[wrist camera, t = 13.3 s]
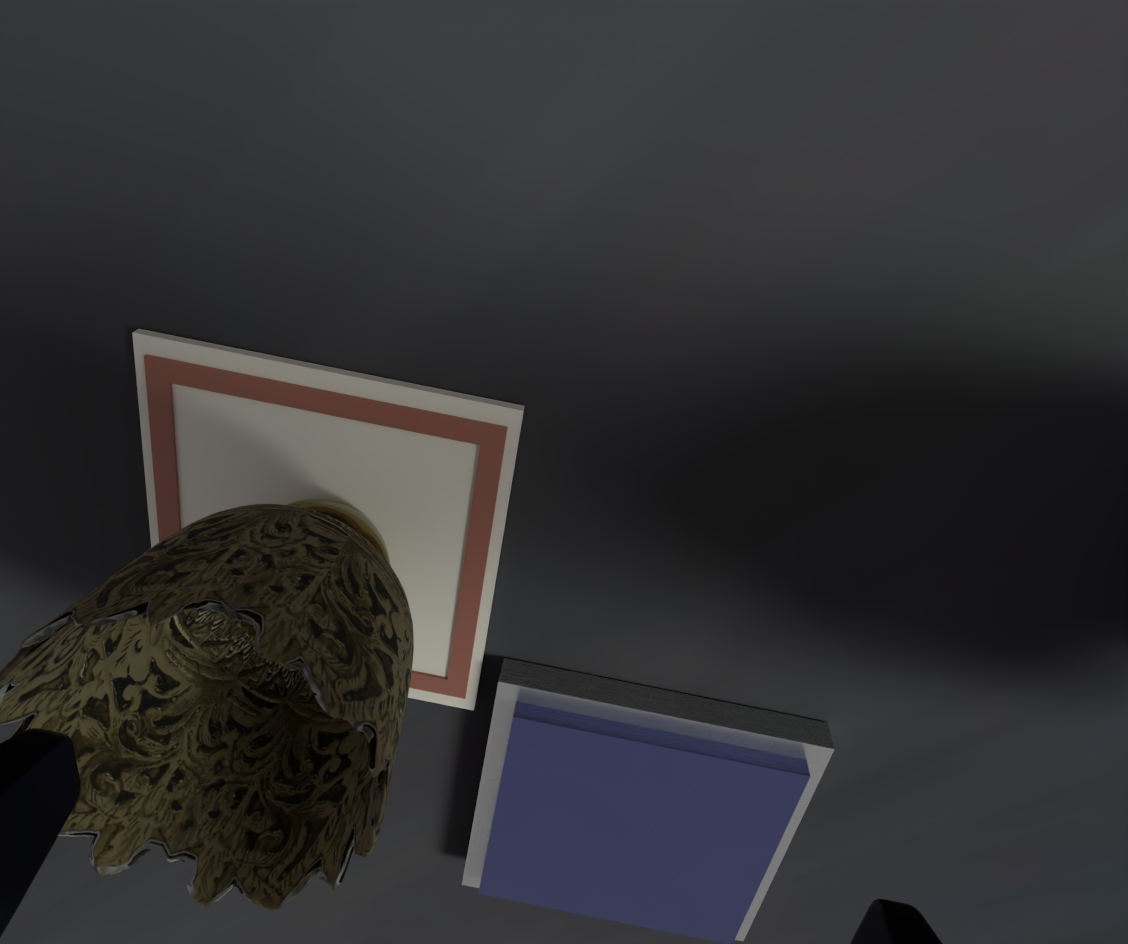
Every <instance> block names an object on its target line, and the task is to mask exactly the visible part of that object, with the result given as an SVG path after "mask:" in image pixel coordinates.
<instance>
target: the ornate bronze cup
mask: <svg viewBox="0 0 1128 944" xmlns="http://www.w3.org/2000/svg"><path fill="white" fill-rule="evenodd" d="M42 629H43V630H42ZM40 630H42V631H41V632H40V633H37V632H39V631H40ZM35 633H37V634H36V635H34V636H33V637H32V638H30V639H28V638H29V637H30V636H32V635H33V634H35ZM27 639H28V640H27ZM20 647H21V648H20V650H19V651H18V653H17V654H16V656H15V657H14V658H13V659H12V660H11V661H10V662H9V663H8V664H7V665H6V666H5V667H4V668H3V669H2V670H1V671H0V686H1V687H0V725H5V724H9V723H13V722H17V721H19V720H21V719H23V718H24V719H23V720H22V722H21V723H20V725H19V727H18V728H17V729H16V731H15V732H14V733H13V734H12V736H11V737H13V736H15V735H17V734H19V733H21V732H23V731H25V730H28V729H33V728H40V729H45V730H50V731H55V732H60V733H64V734H67V735H68V736H69V737H70V738H71V740H72V742H73V747H74V751H75V756H76V761H77V766H78V771H79V776H80V781H81V787H80V794H79V797H78V800H77V802H76V805H75V807H74V809H73V810H72V812H71V814H70V816H69V818H68V819H67V821H66V823H65V825H64V826H63V828H62V830H61V832H60V834H59V835H58V836H71V837H72V836H86V837H91V838H94V839H93V840H92V843H91V847H90V851H89V858H90V862H91V864H92V866H93V868H94V870H95V871H96V872H97V874H99V875H102V876H106V875H112V874H115V873H119V872H121V871H122V870H125V869H127V868H130V867H132V866H130V865H133V864H135V863H136V862H138V861H139V857H142V856H144V855H145V854H146V853H147V852H149V851H152V850H150V849H146V850H143V851H141V852H140V853H139V854H138V855H136V856H135V857H134V858H133V859H132V857H133V856H134V855H135V854H136V853H138V852H139V851H140V850H142V849H143V848H145V847H146V846H147V845H153V846H157V847H161V848H162V849H163V850H164V852H165V854H166V856H167V860H168V861H169V862H173V861H177V860H181V859H177V858H181V857H187V858H188V859H191V860H194V861H195V862H196V868H195V874H194V877H193V879H192V881H191V882H192V884H191V885H192V887H191V886H188V885H187V886H188V890H189V893H190V895H191V896H192V897H193V898H194V899H195V900H196V901H197V902H198V903H199V904H200V905H203V906H208V905H210V904H212V903H214V902H216V901H218V900H220V899H221V898H222V897H223V896H224V895H225V894H226V893H228V892H229V891H230V890H231V889H232V888H233V887H234V886H236V887H237V888H238V889H239V891H240V892H241V893H242V894H243V895H244V896H245V897H246V898H247V899H248V900H249V901H251V902H253V903H255V904H257V905H260V906H262V907H265V908H268V909H270V910H271V911H275V910H278V909H280V908H281V907H283V906H284V905H286V904H287V903H288V902H289V901H290V900H292V899H293V898H294V897H295V896H296V895H297V894H298V893H299V892H300V891H301V890H302V889H304V888H305V887H306V886H307V885H308V884H309V882H310V880H311V879H312V878H313V877H314V876H315V875H316V874H317V873H318V872H320V871H322V874H323V875H325V878H326V879H325V878H324V877H319V878H320V879H322V880H323V881H322V882H326V883H328V884H329V885H330V886H332V888H333V889H335V888H336V887H337V886H338V885H339V884H340V883H341V882H342V880H343V878H344V875H345V873H346V870H347V867H348V864H349V860H350V858H351V855H352V852H353V849H354V851H355V853H356V854H358V855H360V856H362V857H364V858H366V857H367V856H368V855H369V854H370V853H371V851H372V850H373V847H374V845H375V843H376V840H377V838H378V835H379V828H380V824H382V819H383V815H384V810H385V805H386V799H387V793H388V787H389V782H390V778H391V773H392V769H393V764H394V760H395V755H396V751H397V746H398V741H399V737H400V732H401V727H402V723H403V718H404V713H405V708H406V703H407V698H408V693H409V687H410V681H411V673H412V664H413V651H414V634H413V622H412V617H411V613H410V608H409V604H408V600H407V597H406V595H405V592H404V589H403V587H402V585H401V583H400V581H399V579H398V577H397V576H396V574H395V572H394V571H393V569H392V567H391V566H390V558H389V554H388V550H387V547H386V544H385V541H384V539H383V537H382V536H381V534H380V532H379V531H378V529H377V528H376V527H375V526H374V524H373V523H372V522H371V521H370V520H369V519H367V518H366V517H365V516H364V515H363V514H361V513H360V512H358V511H357V510H355V509H353V508H352V507H349V506H347V505H345V504H342V503H340V502H336V501H332V500H326V499H307V500H301V501H297V502H293V503H290V504H287V505H280V504H254V505H246V506H240V507H236V508H232V509H228V510H224V511H220V512H217V513H214V514H211V515H209V516H206V517H204V518H202V519H200V520H198V521H195V522H193V523H191V524H189V525H187V526H186V527H184V528H182V529H180V530H178V531H177V532H175V533H173V534H172V535H170V536H168V537H167V538H165V539H163V540H162V541H160V542H159V543H157V544H156V545H154V546H153V547H152V548H150V549H149V550H147V551H146V552H144V553H143V554H142V555H140V556H139V557H137V558H136V559H135V560H133V561H132V562H131V563H129V564H128V565H126V566H125V567H124V568H122V569H121V570H120V571H118V572H117V573H116V574H114V575H113V576H112V577H110V578H109V579H108V580H106V581H105V582H104V583H102V584H101V585H99V586H98V587H97V588H95V589H94V590H93V591H91V592H90V593H89V594H87V595H86V596H85V597H83V598H82V599H81V600H79V601H78V602H77V603H75V604H74V605H73V606H71V607H70V608H69V609H67V610H66V611H65V612H63V613H62V614H60V615H59V616H58V617H56V618H55V619H53V620H52V621H51V622H49V623H48V624H46V625H45V626H43V627H42V628H40V629H38V630H37V631H35V632H34V633H32V634H30V635H29V636H28V637H27V638H26V639H24V641H23V642H22V643H21V645H20ZM3 684H4V685H3ZM2 685H3V686H2ZM11 737H10V738H11ZM10 738H9V739H10ZM131 860H132V861H131ZM130 861H131V863H130V864H129V865H127V864H128V863H129V862H130ZM181 861H182V862H185V861H184V860H181ZM236 884H238V885H239V886H240V887H241V888H240V887H239V886H238V885H236Z"/></svg>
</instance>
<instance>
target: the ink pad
mask: <svg viewBox="0 0 1128 944" xmlns="http://www.w3.org/2000/svg"><path fill="white" fill-rule="evenodd" d="M833 751H834V745H833V742H832V738H831V734H830V730H829V726H828V723H827V722H822V721H817V720H812V719H807V718H802V717H797V716H792V715H787V714H782V713H777V712H772V711H767V710H762V709H757V708H752V707H747V706H742V705H737V704H732V703H727V702H722V701H717V700H712V699H707V698H702V697H697V696H692V695H687V694H682V693H677V692H672V691H667V690H662V689H657V688H652V687H647V686H642V685H637V684H633V683H628V682H623V681H618V680H613V679H608V678H603V677H598V676H593V675H588V674H583V673H578V672H573V671H568V670H563V669H558V668H553V667H548V666H543V665H538V664H533V663H528V662H523V661H518V660H513V659H508V658H504V660H503V664H502V668H501V672H500V677H499V681H498V686H497V692H496V697H495V703H494V708H493V714H492V719H491V725H490V731H489V736H488V742H487V747H486V753H485V758H484V764H483V770H482V775H481V781H480V786H479V792H478V797H477V803H476V809H475V814H474V820H473V825H472V831H471V836H470V842H469V848H468V853H467V859H466V864H465V870H464V875H463V881H462V885H466V886H471V887H476V888H479V892H478V894H481V895H486V896H491V897H496V898H501V899H506V900H511V901H516V902H521V903H526V904H531V905H536V906H541V907H546V908H551V909H556V910H560V911H565V912H570V913H575V914H580V915H585V916H590V917H595V918H600V919H605V920H610V921H615V922H620V923H625V924H630V925H635V926H640V927H645V928H650V929H655V930H660V931H665V932H669V933H674V934H679V935H684V936H689V937H694V938H699V939H704V940H709V941H714V942H719V943H724V944H733V942H734V940H738V941H744V939H745V937H746V935H747V932H748V930H749V928H750V926H751V924H752V922H753V920H754V918H755V916H756V913H757V911H758V909H759V907H760V905H761V903H762V901H763V899H764V897H765V895H766V892H767V890H768V888H769V886H770V884H771V882H772V880H773V878H774V876H775V873H776V871H777V869H778V867H779V865H780V863H781V861H782V859H783V857H784V854H785V852H786V850H787V848H788V846H789V844H790V842H791V840H792V838H793V836H794V833H795V831H796V829H797V827H798V825H799V823H800V821H801V819H802V817H803V814H804V812H805V810H806V808H807V806H808V804H809V802H810V800H811V798H812V795H813V793H814V791H815V789H816V787H817V785H818V783H819V781H820V779H821V777H822V774H823V772H824V770H825V768H826V766H827V764H828V762H829V760H830V758H831V755H832V753H833Z"/></svg>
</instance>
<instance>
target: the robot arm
mask: <svg viewBox="0 0 1128 944" xmlns="http://www.w3.org/2000/svg"><path fill="white" fill-rule="evenodd" d="M80 787H81V781H80V776H79V771H78V766H77V761H76V756H75V751H74V747H73V742H72V740H71V738H70V737H69V736H68V735H67V734H64V733H60V732H55V731H50V730H45V729H40V728H33V729H28V730H25V731H23V732H21V733H19V734H17V735H15V736H13V737H11V738H10V739H8V740H6V741H4V742H2V743H0V937H1V936H2V934H3V932H4V931H5V929H6V927H7V925H8V924H9V922H10V920H11V919H12V917H13V915H14V913H15V912H16V910H17V908H18V906H19V905H20V903H21V901H22V899H23V897H24V896H25V894H26V892H27V890H28V889H29V887H30V885H31V883H32V881H33V880H34V878H35V876H36V874H37V873H38V871H39V869H40V867H41V865H42V864H43V862H44V860H45V858H46V857H47V855H48V853H49V851H50V850H51V848H52V846H53V844H54V842H55V841H56V839H57V837H58V835H59V834H60V832H61V830H62V828H63V826H64V825H65V823H66V821H67V819H68V818H69V816H70V814H71V812H72V810H73V809H74V807H75V805H76V802H77V800H78V797H79V794H80ZM851 944H942V942H941V941H940V940H939V938H938V937H937V935H936V934H935V933H934V931H933V930H932V928H931V927H930V926H929V924H928V923H927V921H926V920H925V918H924V917H923V916H922V914H921V913H920V912H919V911H918V910H917V909H916V908H914V907H913V906H911V905H908V904H905V903H900V902H895V901H890V900H885V899H877V900H875V901H873V902H872V904H871V905H870V907H869V909H868V910H867V912H866V914H865V916H864V918H863V920H862V922H861V924H860V926H859V927H858V929H857V931H856V933H855V935H854V937H853V939H852V941H851Z"/></svg>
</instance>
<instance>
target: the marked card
mask: <svg viewBox="0 0 1128 944" xmlns="http://www.w3.org/2000/svg"><path fill="white" fill-rule="evenodd" d="M132 335H133V347H134V358H135V369H136V380H137V392H138V403H139V414H140V426H141V437H142V448H143V459H144V471H145V482H146V493H147V504H148V516H149V527H150V538H151V548H152V547H153V546H154V545H156V544H157V543H159V542H160V541H162V540H163V539H165V538H167V537H168V536H170V535H172V534H173V533H175V532H177V531H178V530H180V529H182V528H184V527H186V526H187V525H189V524H191V523H193V522H195V521H198V520H200V519H202V518H204V517H206V516H209V515H211V514H214V513H217V512H220V511H224V510H228V509H232V508H236V507H240V506H246V505H254V504H280V505H287V504H290V503H293V502H297V501H301V500H307V499H326V500H332V501H336V502H340V503H342V504H345V505H347V506H349V507H352V508H353V509H355V510H357V511H358V512H360V513H361V514H363V515H364V516H365V517H366V518H367V519H369V520H370V521H371V522H372V523H373V524H374V526H375V527H376V528H377V529H378V531H379V532H380V534H381V536H382V537H383V539H384V541H385V544H386V547H387V550H388V554H389V558H390V566H391V567H392V569H393V571H394V572H395V574H396V576H397V577H398V579H399V581H400V583H401V585H402V587H403V589H404V592H405V595H406V597H407V600H408V604H409V608H410V613H411V617H412V622H413V634H414V651H413V664H412V673H411V681H410V687H409V693H408V698H413V699H418V700H423V701H428V702H433V703H438V704H443V705H448V706H453V707H458V708H463V709H468V710H473V711H474V708H475V704H476V698H477V692H478V686H479V680H480V674H481V668H482V662H483V656H484V650H485V644H486V638H487V632H488V625H489V619H490V613H491V607H492V601H493V595H494V589H495V583H496V577H497V571H498V565H499V559H500V552H501V546H502V540H503V534H504V528H505V522H506V516H507V510H508V504H509V498H510V492H511V486H512V479H513V473H514V467H515V461H516V455H517V449H518V443H519V437H520V431H521V425H522V419H523V413H524V406H523V405H518V404H513V403H508V402H503V401H498V400H493V399H488V398H483V397H478V396H473V395H468V394H463V393H458V392H453V391H448V390H443V389H438V388H433V387H428V386H423V385H418V384H413V383H408V382H403V381H398V380H393V379H388V378H383V377H378V376H373V375H368V374H363V373H358V372H354V371H349V370H344V369H339V368H334V367H329V366H324V365H319V364H314V363H309V362H304V361H299V360H294V359H289V358H284V357H279V356H274V355H269V354H264V353H259V352H254V351H249V350H244V349H239V348H234V347H229V346H224V345H219V344H214V343H209V342H204V341H199V340H194V339H189V338H184V337H179V336H174V335H169V334H164V333H159V332H154V331H149V330H144V329H138V330H136V331H134V332H132Z"/></svg>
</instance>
